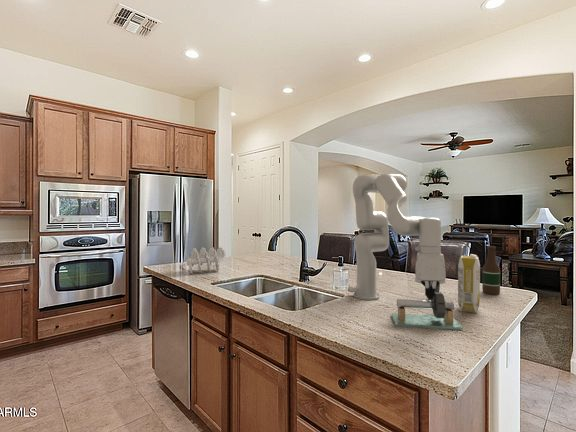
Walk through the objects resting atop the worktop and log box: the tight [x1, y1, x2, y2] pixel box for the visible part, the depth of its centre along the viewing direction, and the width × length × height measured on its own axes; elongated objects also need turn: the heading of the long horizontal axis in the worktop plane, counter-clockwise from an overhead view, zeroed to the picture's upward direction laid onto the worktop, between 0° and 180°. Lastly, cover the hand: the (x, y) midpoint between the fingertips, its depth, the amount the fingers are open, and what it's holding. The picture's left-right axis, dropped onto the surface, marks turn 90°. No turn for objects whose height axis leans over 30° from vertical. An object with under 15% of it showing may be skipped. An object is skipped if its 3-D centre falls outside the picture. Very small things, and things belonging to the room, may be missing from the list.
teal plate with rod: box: [390, 298, 464, 331], centre depth 123 cm, size 23×12×9 cm, turn 79°
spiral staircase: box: [185, 246, 226, 274], centre depth 223 cm, size 18×18×25 cm
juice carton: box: [457, 253, 481, 314], centre depth 137 cm, size 9×8×24 cm
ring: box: [432, 291, 446, 318], centre depth 122 cm, size 2×9×9 cm, turn 169°
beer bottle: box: [482, 245, 501, 296], centre depth 164 cm, size 8×8×24 cm
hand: (429, 297), depth 122 cm, fingers closed
